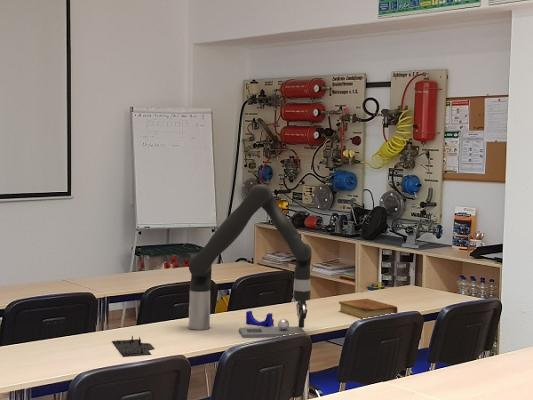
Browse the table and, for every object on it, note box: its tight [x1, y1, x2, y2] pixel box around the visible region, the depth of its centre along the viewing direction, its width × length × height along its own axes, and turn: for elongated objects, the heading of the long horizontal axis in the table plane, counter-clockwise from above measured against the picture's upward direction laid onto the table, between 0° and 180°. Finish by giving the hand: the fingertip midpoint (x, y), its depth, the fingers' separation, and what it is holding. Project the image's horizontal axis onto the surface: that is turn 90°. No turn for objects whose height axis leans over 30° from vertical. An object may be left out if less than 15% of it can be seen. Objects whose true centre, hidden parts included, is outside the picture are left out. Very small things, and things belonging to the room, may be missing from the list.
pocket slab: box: [238, 325, 307, 339], centre depth 367 cm, size 28×13×2 cm, turn 99°
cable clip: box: [245, 310, 275, 327], centre depth 384 cm, size 12×4×6 cm, turn 64°
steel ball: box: [277, 318, 290, 330], centre depth 368 cm, size 5×5×5 cm
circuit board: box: [111, 335, 155, 358], centre depth 339 cm, size 25×14×3 cm, turn 21°
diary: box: [338, 298, 399, 320], centre depth 411 cm, size 23×19×6 cm
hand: (301, 327), depth 369 cm, fingers closed
